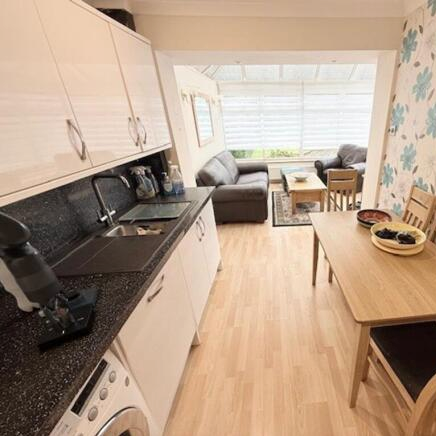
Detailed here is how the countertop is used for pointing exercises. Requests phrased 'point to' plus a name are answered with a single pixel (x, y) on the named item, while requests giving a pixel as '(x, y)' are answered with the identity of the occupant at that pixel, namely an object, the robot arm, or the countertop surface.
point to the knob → (66, 317)
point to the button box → (83, 300)
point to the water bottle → (15, 289)
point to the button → (72, 295)
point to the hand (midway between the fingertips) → (64, 321)
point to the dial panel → (68, 330)
